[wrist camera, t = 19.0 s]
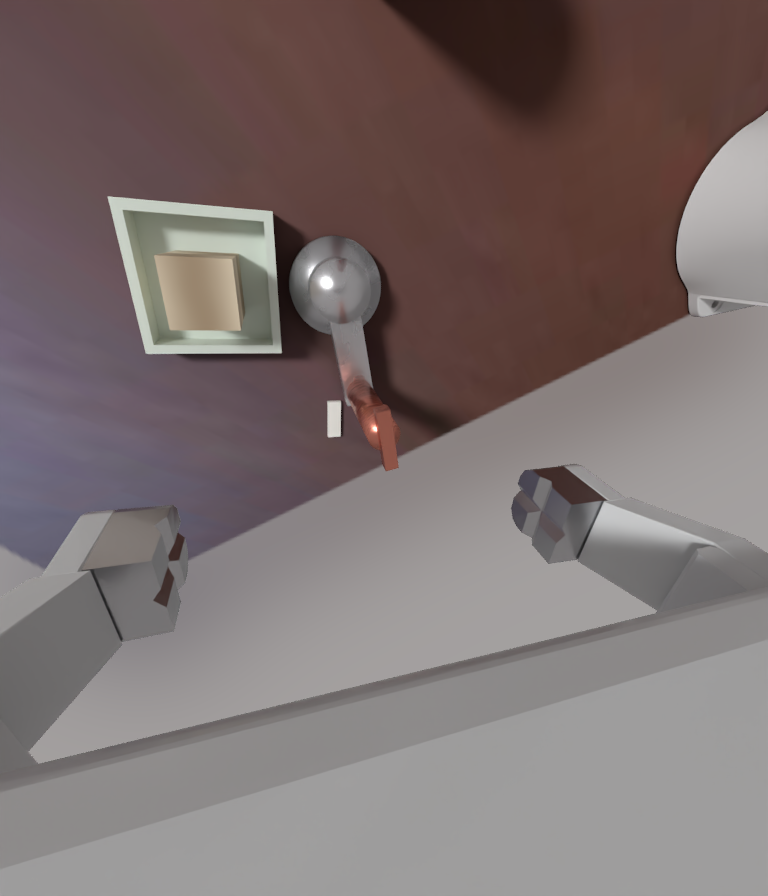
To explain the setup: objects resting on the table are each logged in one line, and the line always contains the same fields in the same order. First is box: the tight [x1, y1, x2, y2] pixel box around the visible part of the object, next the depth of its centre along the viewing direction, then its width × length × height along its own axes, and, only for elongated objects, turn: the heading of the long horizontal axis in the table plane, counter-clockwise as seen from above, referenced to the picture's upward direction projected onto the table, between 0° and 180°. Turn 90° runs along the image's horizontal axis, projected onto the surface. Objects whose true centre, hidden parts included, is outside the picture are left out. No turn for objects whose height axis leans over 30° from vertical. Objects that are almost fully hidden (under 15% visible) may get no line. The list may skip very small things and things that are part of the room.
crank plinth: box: [289, 236, 381, 335], centre depth 29 cm, size 7×7×1 cm
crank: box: [308, 256, 400, 471], centre depth 26 cm, size 12×4×10 cm, turn 8°
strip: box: [327, 400, 341, 437], centre depth 35 cm, size 1×4×1 cm, turn 176°
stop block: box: [154, 250, 245, 331], centre depth 24 cm, size 4×4×6 cm
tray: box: [108, 197, 282, 354], centre depth 26 cm, size 9×9×2 cm
